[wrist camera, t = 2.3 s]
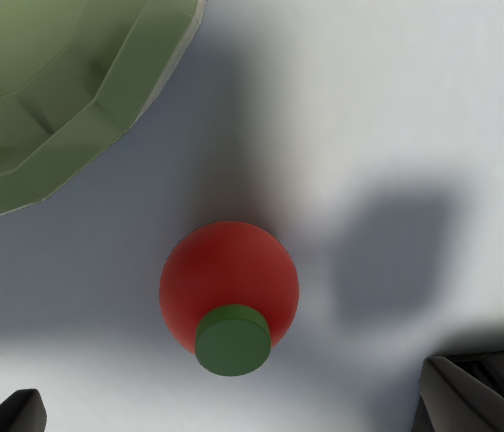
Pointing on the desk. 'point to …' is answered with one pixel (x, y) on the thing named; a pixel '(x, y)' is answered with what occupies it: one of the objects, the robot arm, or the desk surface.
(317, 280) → the desk surface
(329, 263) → the desk surface
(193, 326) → the red round piece
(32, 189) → the bowl
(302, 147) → the desk surface
